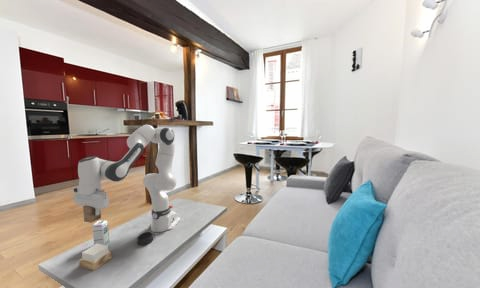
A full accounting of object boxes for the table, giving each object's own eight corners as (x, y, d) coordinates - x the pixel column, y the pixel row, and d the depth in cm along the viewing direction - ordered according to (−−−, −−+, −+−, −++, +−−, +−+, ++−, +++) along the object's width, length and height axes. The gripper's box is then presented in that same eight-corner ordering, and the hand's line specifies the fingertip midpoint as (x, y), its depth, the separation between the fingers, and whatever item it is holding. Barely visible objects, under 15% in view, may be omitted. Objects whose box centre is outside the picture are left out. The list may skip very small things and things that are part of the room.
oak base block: (98, 254, 109) (98, 248, 109) (112, 258, 106) (111, 251, 106) (79, 267, 99) (79, 260, 99) (93, 271, 96) (92, 264, 96)
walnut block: (94, 217, 103) (93, 202, 102) (101, 218, 102) (99, 203, 101) (84, 221, 98) (83, 206, 98) (91, 222, 97) (90, 207, 96)
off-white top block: (97, 250, 107) (97, 243, 106) (108, 252, 105) (108, 245, 104) (82, 259, 99) (81, 252, 99) (94, 262, 97) (93, 255, 97)
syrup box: (104, 247, 115) (102, 224, 114) (93, 248, 114) (91, 225, 113) (109, 241, 121) (107, 219, 119) (99, 242, 120) (97, 220, 118)
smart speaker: (149, 235, 127) (149, 230, 127) (156, 240, 122) (155, 234, 121) (135, 242, 120) (135, 236, 120) (141, 247, 115) (141, 241, 114)
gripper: (111, 188, 98) (113, 214, 100) (83, 184, 104) (85, 209, 106) (99, 192, 92) (101, 219, 94) (70, 188, 98) (72, 214, 100)
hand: (92, 214), depth 100 cm, fingers closed on walnut block, 5 cm apart
